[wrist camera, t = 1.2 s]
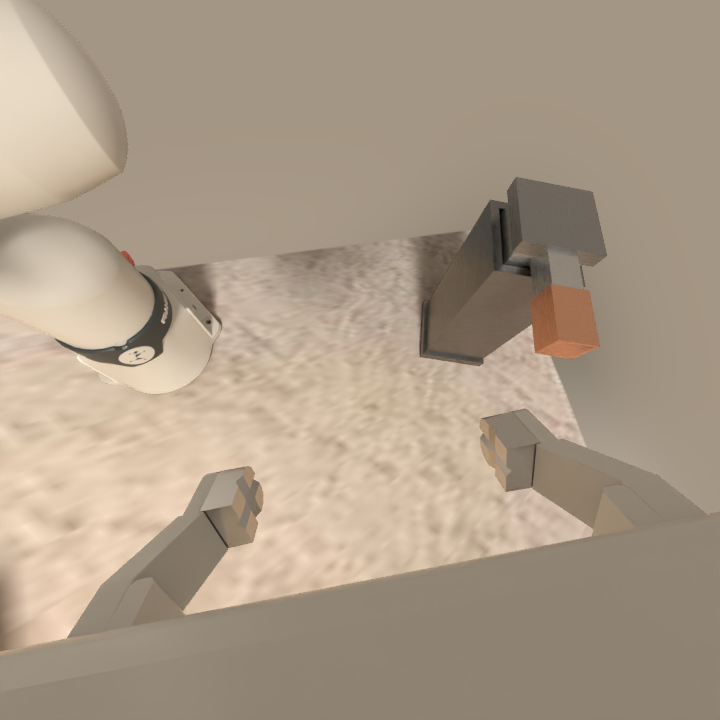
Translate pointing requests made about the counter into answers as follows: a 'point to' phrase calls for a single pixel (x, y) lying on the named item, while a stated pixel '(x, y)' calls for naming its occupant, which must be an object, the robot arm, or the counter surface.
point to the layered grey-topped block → (554, 261)
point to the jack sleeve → (477, 298)
